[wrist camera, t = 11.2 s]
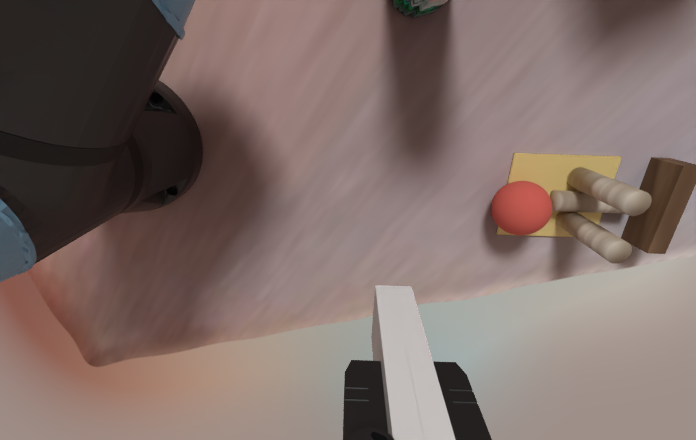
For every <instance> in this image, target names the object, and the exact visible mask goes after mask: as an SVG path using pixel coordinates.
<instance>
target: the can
mask: <svg viewBox="0 0 696 440" xmlns="http://www.w3.org/2000/svg"><path fill="white" fill-rule="evenodd" d="M447 1H448V0H393V4H394V9H395V8H398V9H399V12H402V11H403V13H404V16H405V15H409V14H412V16H413V18H416V17H419V16H423V15H426V14H430V13H434V12H435V11H436V10H437V9H439V8H440V7H441V6H442V5H443V4H445V3H446V2H447Z"/></svg>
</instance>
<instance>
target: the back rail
mask: <svg viewBox="0 0 696 440" xmlns="http://www.w3.org/2000/svg"><path fill="white" fill-rule="evenodd" d="M695 184H696V165H695V164H691V163H687V162H683V161H679V160H675V159H671V158H651V160H650V163H649V166H648V168H647V171H646V174H645V176H644V179H643V182H642V184H641V187H640V190H643V191H645V192H647V193H649V194H650V195H651V198H652V201H651V205H650V207H649V208H648V209H647V210H646V211H645V212H644V213H642V214H640V215H637V216H629V219H628V221H627V224H626V227H625V229H624V232H623V235H622V237H621V238H622V239H624V240H626V241H628V242H629V243H631V244H633V245H634V246H636V247H638V248H639V249H641V250H643V251H645V252H646V253H658V254H665V253H666V250H667V248H668V246H669V244H670V241H671V239H672V237H673V235H674V232H675V230H676V228H677V225H678V223H679V221H680V219H681V216H682V214H683V212H684V209H685V207H686V205H687V203H688V200H689V198H690V196H691V194H692V191H693V189H694V187H695Z"/></svg>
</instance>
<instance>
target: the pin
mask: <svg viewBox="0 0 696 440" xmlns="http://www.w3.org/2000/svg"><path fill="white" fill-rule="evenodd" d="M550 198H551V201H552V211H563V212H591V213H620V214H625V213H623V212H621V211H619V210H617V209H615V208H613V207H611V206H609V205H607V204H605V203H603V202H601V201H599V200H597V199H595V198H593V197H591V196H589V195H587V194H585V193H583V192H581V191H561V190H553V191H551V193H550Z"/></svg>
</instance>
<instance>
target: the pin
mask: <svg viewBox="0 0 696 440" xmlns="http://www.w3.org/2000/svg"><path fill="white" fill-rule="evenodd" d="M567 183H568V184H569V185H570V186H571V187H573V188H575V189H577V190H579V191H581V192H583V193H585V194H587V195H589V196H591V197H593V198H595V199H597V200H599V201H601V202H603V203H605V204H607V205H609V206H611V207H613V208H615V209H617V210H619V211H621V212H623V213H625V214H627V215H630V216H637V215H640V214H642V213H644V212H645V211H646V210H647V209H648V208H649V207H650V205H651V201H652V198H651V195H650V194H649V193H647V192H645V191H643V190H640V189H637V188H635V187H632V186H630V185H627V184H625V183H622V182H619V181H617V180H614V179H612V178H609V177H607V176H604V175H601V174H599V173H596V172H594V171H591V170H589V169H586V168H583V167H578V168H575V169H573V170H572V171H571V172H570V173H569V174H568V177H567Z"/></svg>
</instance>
